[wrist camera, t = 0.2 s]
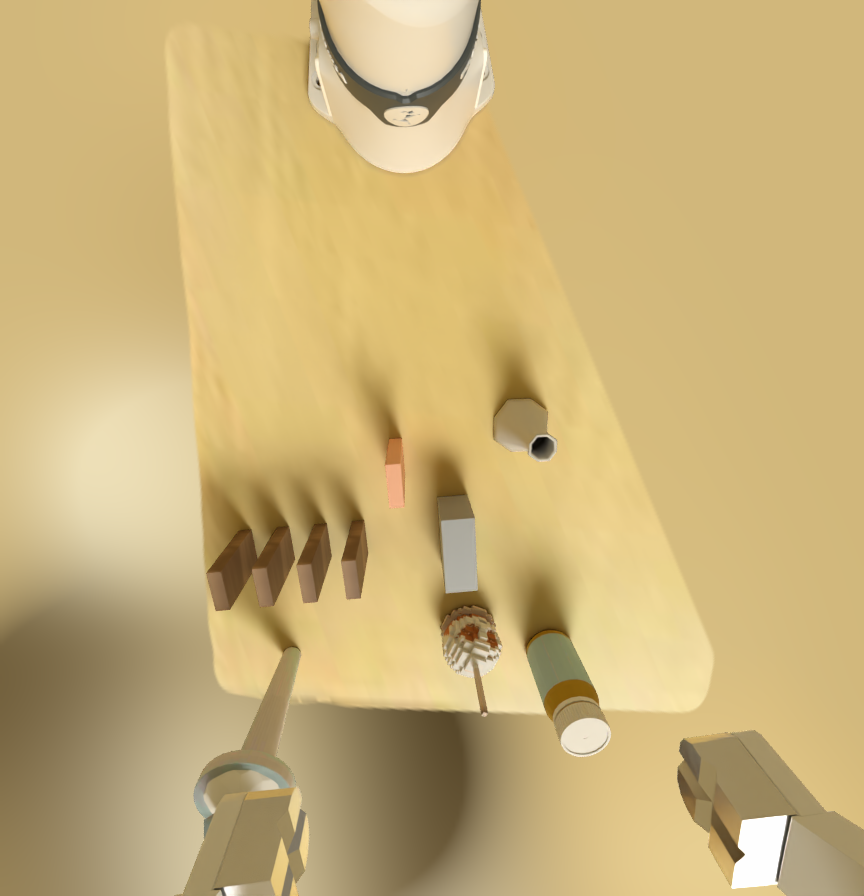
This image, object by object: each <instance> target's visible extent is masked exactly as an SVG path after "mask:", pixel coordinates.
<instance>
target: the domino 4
mask: <svg viewBox="0 0 864 896" xmlns="http://www.w3.org/2000/svg"><path fill="white" fill-rule="evenodd" d="M367 557H368V548H367V540H366V532H365V523H364V520H361V521H352V524H351V527H350V531H349V535H348V538H347V542H346V546H345V549H344V553H343V557H342V560H341V564H342V571H343V577H344V584H345V591H346V598H347V599H357V598H361V593H362V587H363V581H364V575H365V569H366V563H367Z"/></svg>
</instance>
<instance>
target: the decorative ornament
mask: <svg viewBox="0 0 864 896" xmlns="http://www.w3.org/2000/svg"><path fill="white" fill-rule="evenodd" d="M495 627H496V625H495V623H494V620H493V619H492V615H490V614H487V610H485V609H482V608H480V607H477V606H474V605H472V607H471V608H469V607H466V606H464V607H463V608H462V609H461V608H458V610H457V611H456V610H453V612H452V614H451V616H450V615H447V616H446V618H445V620H444V621H443V623H442V625H441V629H442V630H443V631H442V633H441V635H442V642H443V644H442V645H443V654H444V656H445V658H446V661H447V662H448V665H450V668H452V669H453V670H455V671H456V673H457V674H460V675H463V676H466V677H470V678H475V683H476V688H477V694H478V699H479V705H480V710H481V715H482V716H485V717H486V716H487V714H488V711H487V706H486V701H485V696H484V691H483V686H482V681H481V677H483V675H486V674H487V672H490V670H493V668H494V666H495V664H496V663H497V661H498V659H499V656H500V654H501V648H502V644H501V641H500V639H499V637H498V634H497V632H496V629H495Z"/></svg>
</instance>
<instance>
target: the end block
mask: <svg viewBox="0 0 864 896" xmlns="http://www.w3.org/2000/svg"><path fill="white" fill-rule="evenodd" d="M437 501H438V515H439V530H440V545H441V560H442V569H443V576H444V584H445V591H446V593H456V592H467V591H478V585H477V561H476V537H475V517H474V514H473V511H472V508H471V505H470V502H469V499H468V496H467V495H457V496H444V497H437Z"/></svg>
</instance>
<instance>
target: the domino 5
mask: <svg viewBox="0 0 864 896" xmlns="http://www.w3.org/2000/svg"><path fill="white" fill-rule="evenodd" d="M385 468H386V478H387V488H388V497H389V507H390V508H401V507H404V500H405V469H404V458H403V447H402V438H396V439H389V443H388V450H387V456H386V463H385Z"/></svg>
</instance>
